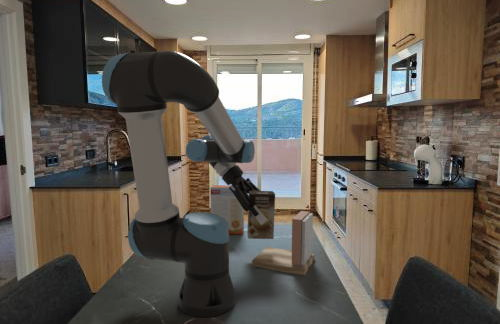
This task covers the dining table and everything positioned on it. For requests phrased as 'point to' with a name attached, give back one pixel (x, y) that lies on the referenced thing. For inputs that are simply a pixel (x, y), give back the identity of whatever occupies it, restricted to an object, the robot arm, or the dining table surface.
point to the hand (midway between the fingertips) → (269, 218)
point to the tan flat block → (297, 236)
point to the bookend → (306, 240)
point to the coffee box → (267, 208)
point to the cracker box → (227, 208)
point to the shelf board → (279, 261)
